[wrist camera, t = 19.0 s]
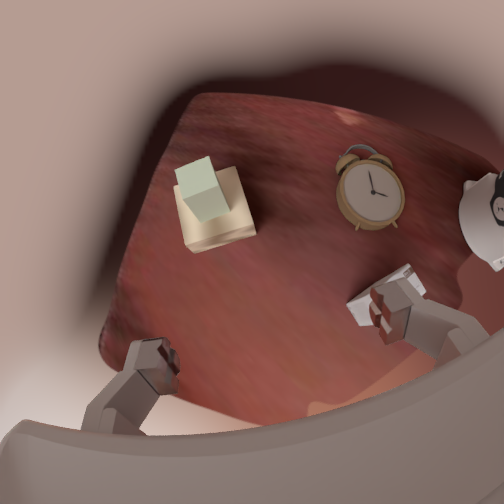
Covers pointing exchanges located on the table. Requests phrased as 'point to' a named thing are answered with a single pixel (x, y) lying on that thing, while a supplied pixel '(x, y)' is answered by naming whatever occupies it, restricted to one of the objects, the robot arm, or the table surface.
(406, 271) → the skincare box
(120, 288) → the table surface
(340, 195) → the alarm clock
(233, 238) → the birch block
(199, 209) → the sage block
